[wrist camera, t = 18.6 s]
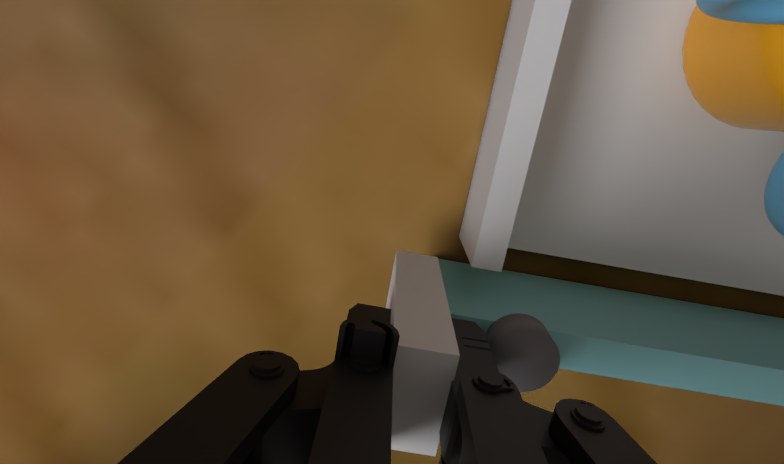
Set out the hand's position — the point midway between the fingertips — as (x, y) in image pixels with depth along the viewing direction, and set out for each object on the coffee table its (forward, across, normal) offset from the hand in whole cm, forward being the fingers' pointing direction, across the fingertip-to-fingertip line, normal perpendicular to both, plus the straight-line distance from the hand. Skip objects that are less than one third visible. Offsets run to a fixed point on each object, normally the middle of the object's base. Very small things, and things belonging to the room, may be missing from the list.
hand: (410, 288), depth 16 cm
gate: (+2, +10, 0) cm, 10 cm away
